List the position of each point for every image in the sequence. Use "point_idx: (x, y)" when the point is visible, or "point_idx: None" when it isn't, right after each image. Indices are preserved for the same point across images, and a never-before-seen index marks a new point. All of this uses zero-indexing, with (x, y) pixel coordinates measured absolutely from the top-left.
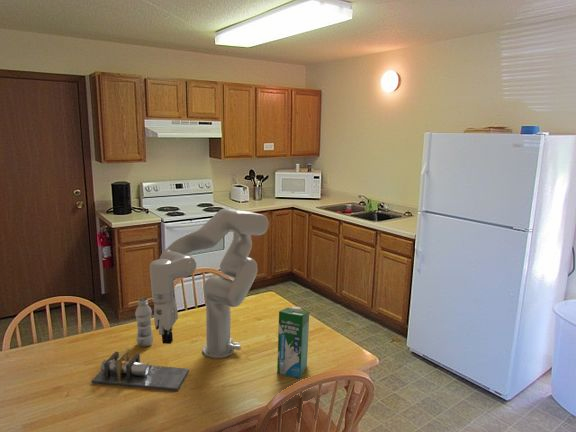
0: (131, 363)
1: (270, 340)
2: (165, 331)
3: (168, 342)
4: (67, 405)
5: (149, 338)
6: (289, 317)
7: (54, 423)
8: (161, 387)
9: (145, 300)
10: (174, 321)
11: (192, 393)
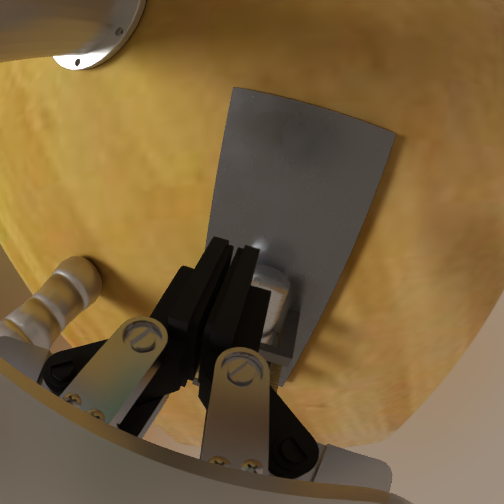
0: (274, 352)
1: None
2: (311, 457)
3: (252, 276)
4: (361, 402)
5: (76, 275)
6: None
7: (411, 405)
8: (370, 202)
9: None
10: (70, 459)
11: (413, 70)
